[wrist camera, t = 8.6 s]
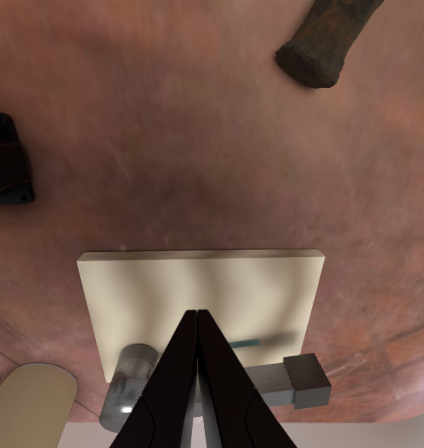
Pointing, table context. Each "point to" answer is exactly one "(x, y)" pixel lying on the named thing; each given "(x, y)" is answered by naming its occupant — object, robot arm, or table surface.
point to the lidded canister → (35, 405)
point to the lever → (146, 362)
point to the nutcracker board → (201, 298)
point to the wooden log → (325, 41)
